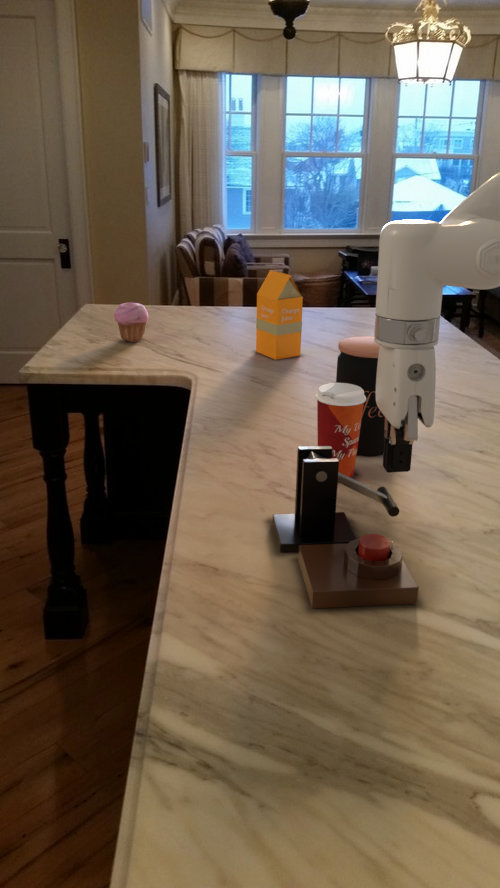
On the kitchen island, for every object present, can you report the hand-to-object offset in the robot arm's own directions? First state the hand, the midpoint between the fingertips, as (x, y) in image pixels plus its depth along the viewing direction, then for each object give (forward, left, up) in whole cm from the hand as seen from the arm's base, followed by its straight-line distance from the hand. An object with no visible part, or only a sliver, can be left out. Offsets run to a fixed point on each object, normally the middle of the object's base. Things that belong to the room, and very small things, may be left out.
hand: (396, 469), depth 91 cm
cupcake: (+40, -105, -10) cm, 113 cm away
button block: (+7, +11, -9) cm, 16 cm away
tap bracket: (+10, 0, -9) cm, 14 cm away
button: (+5, +11, -6) cm, 13 cm away
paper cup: (+3, -19, -10) cm, 22 cm away
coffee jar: (-4, -30, -10) cm, 32 cm away
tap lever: (+6, 0, -3) cm, 7 cm away
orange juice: (+3, -90, -10) cm, 91 cm away
